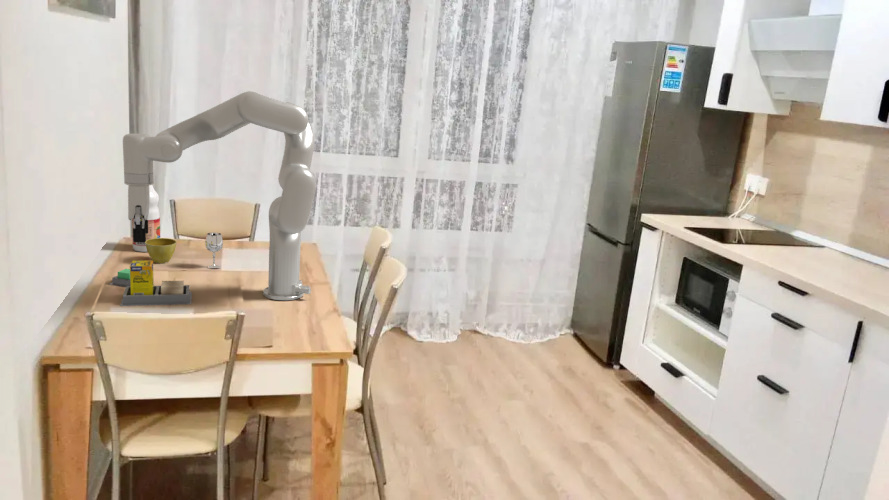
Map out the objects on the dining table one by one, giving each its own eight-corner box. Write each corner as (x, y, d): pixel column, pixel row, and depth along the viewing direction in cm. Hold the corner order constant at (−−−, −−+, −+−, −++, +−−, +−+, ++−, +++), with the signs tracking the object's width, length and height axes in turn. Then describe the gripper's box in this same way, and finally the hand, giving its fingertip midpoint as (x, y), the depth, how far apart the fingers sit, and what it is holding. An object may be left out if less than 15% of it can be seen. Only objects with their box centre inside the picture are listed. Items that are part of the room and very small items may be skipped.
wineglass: (209, 270, 236) (209, 236, 233) (202, 266, 240) (202, 232, 237) (225, 268, 239) (225, 235, 236) (218, 264, 244) (218, 231, 240)
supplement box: (153, 301, 200) (152, 265, 197) (130, 302, 198) (129, 266, 195) (154, 295, 205) (153, 260, 202) (132, 295, 203) (131, 260, 200)
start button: (137, 277, 215) (137, 270, 214) (129, 281, 211) (129, 273, 211) (126, 276, 216) (125, 268, 215) (117, 279, 212) (117, 271, 211)
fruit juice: (128, 247, 253) (126, 172, 246) (154, 244, 260) (152, 171, 253) (138, 253, 247) (136, 176, 240) (164, 250, 254) (163, 175, 246)
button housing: (147, 283, 217) (147, 274, 216) (131, 291, 210) (131, 281, 209) (124, 280, 219) (124, 271, 218) (108, 287, 211) (107, 278, 210)
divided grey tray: (191, 294, 211) (191, 284, 210) (191, 307, 201) (191, 296, 200) (124, 296, 205) (123, 285, 204) (120, 309, 195) (119, 297, 194)
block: (183, 294, 208) (183, 280, 207) (183, 301, 202) (183, 286, 201) (162, 295, 206) (162, 280, 205) (161, 301, 200) (160, 287, 199)
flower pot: (163, 267, 235) (163, 247, 233) (139, 262, 237) (138, 242, 236) (182, 260, 244) (182, 240, 242) (158, 255, 247) (158, 236, 245)
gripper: (127, 172, 199) (129, 230, 203) (120, 183, 183) (123, 245, 187) (155, 173, 201) (156, 230, 206) (151, 184, 186) (153, 245, 190)
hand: (141, 237), depth 197 cm, fingers open, 9 cm apart
